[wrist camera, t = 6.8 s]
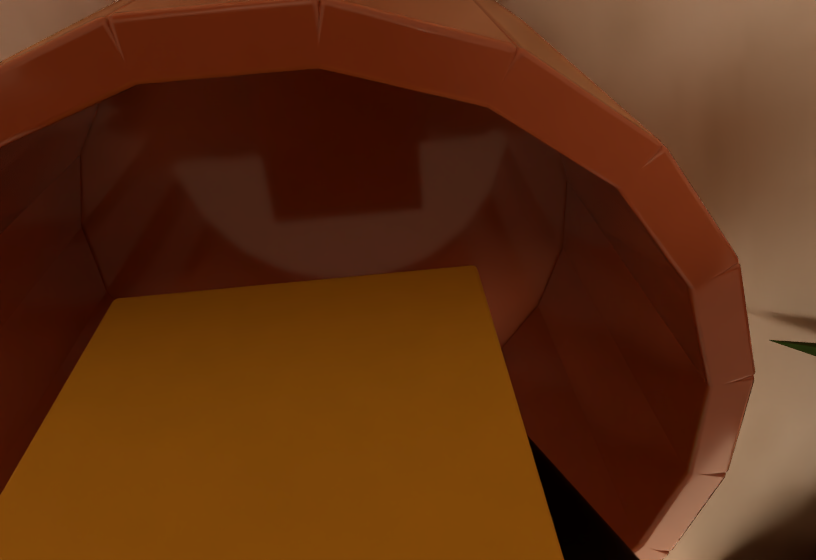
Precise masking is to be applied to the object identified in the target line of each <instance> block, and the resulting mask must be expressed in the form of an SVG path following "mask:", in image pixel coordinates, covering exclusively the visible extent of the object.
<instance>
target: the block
mask: <svg viewBox="0 0 816 560" xmlns="http://www.w3.org/2000/svg"><path fill="white" fill-rule="evenodd" d="M0 560H564V558H563V554H562V551H561V548H560V544H559V541H558V538H557V534H556V531H555V528H554V524H553V521H552V517H551V514H550V511H549V507H548V504H547V501H546V497H545V494H544V491H543V487H542V484H541V481H540V477H539V474H538V471H537V467H536V464H535V461H534V457H533V454H532V450H531V447H530V444H529V440H528V437H527V434H526V430H525V427H524V424H523V420H522V417H521V414H520V410H519V407H518V404H517V400H516V397H515V394H514V390H513V387H512V383H511V380H510V377H509V373H508V370H507V367H506V363H505V360H504V357H503V353H502V350H501V347H500V343H499V340H498V337H497V333H496V330H495V327H494V323H493V320H492V317H491V313H490V310H489V306H488V303H487V300H486V296H485V293H484V290H483V286H482V283H481V280H480V276H479V273H478V270H477V268H476V267H475V266H473V265H469V266H458V267H448V268H437V269H426V270H416V271H405V272H394V273H383V274H373V275H362V276H351V277H341V278H330V279H319V280H309V281H298V282H287V283H277V284H266V285H255V286H245V287H234V288H223V289H212V290H202V291H191V292H180V293H170V294H159V295H148V296H138V297H127V298H118V299H115V300H114V301H113V302H112V304H111V305H110V307H109V309H108V310H107V312H106V314H105V316H104V317H103V319H102V321H101V322H100V324H99V326H98V328H97V329H96V331H95V333H94V335H93V336H92V338H91V340H90V341H89V343H88V345H87V347H86V348H85V350H84V352H83V353H82V355H81V357H80V359H79V360H78V362H77V364H76V366H75V367H74V369H73V371H72V372H71V374H70V376H69V378H68V379H67V381H66V383H65V384H64V386H63V388H62V390H61V391H60V393H59V395H58V397H57V398H56V400H55V402H54V403H53V405H52V407H51V409H50V410H49V412H48V414H47V416H46V417H45V419H44V421H43V422H42V424H41V426H40V428H39V429H38V431H37V433H36V434H35V436H34V438H33V440H32V441H31V443H30V445H29V447H28V448H27V450H26V452H25V453H24V455H23V457H22V459H21V460H20V462H19V464H18V465H17V467H16V469H15V471H14V472H13V474H12V476H11V478H10V479H9V481H8V483H7V484H6V486H5V488H4V490H3V491H2V493H1V495H0Z"/></svg>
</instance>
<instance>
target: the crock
mask: <svg viewBox="0 0 816 560" xmlns="http://www.w3.org/2000/svg"><path fill="white" fill-rule="evenodd" d="M738 262H739V261H738V256H737V255H736V253H735V252H734V250H733V249H732V247H731V246H730V244H729V243H728V241H727V239H726V238H725V236H724V235H723V233H722V232H721V230H720V229H719V227H718V226H717V224H716V222H715V221H714V219H713V218H712V216H711V215H710V213H709V212H708V210H707V209H706V207H705V205H704V204H703V202H702V201H701V199H700V198H699V196H698V195H697V193H696V192H695V190H694V189H693V187H692V185H691V184H690V182H689V181H688V179H687V178H686V176H685V175H684V173H683V172H682V170H681V168H680V167H679V165H678V164H677V162H676V161H675V159H674V158H673V156H672V155H671V153H670V151H669V150H668V148H667V147H666V146H665V145H663V144H662V143H661V141H660V140H659V139H658V138H657V137H655V136H654V135H653V134H652V133H651V132H650V131H649V130H647V129H646V128H645V127H644V126H643V125H642V124H641V123H639V122H638V121H637V120H636V119H635V118H634V117H633V116H631V115H630V114H629V113H628V112H627V111H626V110H625V109H623V108H622V107H621V106H620V105H619V104H618V103H617V102H615V101H614V100H613V99H612V98H611V97H610V96H609V95H607V94H606V93H605V92H604V91H603V90H602V89H601V88H599V87H598V86H597V85H596V84H595V83H594V82H593V81H591V80H590V79H589V78H588V77H587V76H586V75H585V74H583V73H582V72H581V71H580V70H579V69H578V68H577V67H575V66H574V65H573V64H572V63H571V62H570V61H569V60H567V59H566V58H565V57H564V56H563V55H562V54H561V53H559V52H558V51H557V50H556V49H555V48H554V47H553V46H551V45H550V44H549V43H548V42H547V41H546V40H545V39H543V38H542V37H541V36H540V35H539V34H538V33H537V32H535V31H534V30H533V29H532V28H531V27H530V26H529V25H527V24H526V23H525V22H524V21H523V20H522V19H521V18H519V17H518V16H516V15H515V14H513V13H512V12H510V11H509V10H508V9H506V8H505V7H503V6H502V5H500V4H499V3H498V2H496V1H495V0H118V1H117V2H115V3H113V4H111V5H109V6H107V7H105V8H103V9H101V10H99V11H97V12H95V13H93V14H91V15H90V16H88V17H86V18H84V19H82V20H80V21H78V22H76V23H74V24H72V25H70V26H68V27H66V28H64V29H63V30H61V31H59V32H57V33H55V34H53V35H51V36H49V37H47V38H45V39H43V40H41V41H39V42H37V43H36V44H34V45H32V46H30V47H28V48H26V49H24V50H22V51H20V52H18V53H16V54H14V55H12V56H10V57H9V58H7V59H5V60H3V61H1V62H0V495H1V493H2V491H3V490H4V488H5V486H6V484H7V483H8V481H9V479H10V478H11V476H12V474H13V472H14V471H15V469H16V467H17V465H18V464H19V462H20V460H21V459H22V457H23V455H24V453H25V452H26V450H27V448H28V447H29V445H30V443H31V441H32V440H33V438H34V436H35V434H36V433H37V431H38V429H39V428H40V426H41V424H42V422H43V421H44V419H45V417H46V416H47V414H48V412H49V410H50V409H51V407H52V405H53V403H54V402H55V400H56V398H57V397H58V395H59V393H60V391H61V390H62V388H63V386H64V384H65V383H66V381H67V379H68V378H69V376H70V374H71V372H72V371H73V369H74V367H75V366H76V364H77V362H78V360H79V359H80V357H81V355H82V353H83V352H84V350H85V348H86V347H87V345H88V343H89V341H90V340H91V338H92V336H93V335H94V333H95V331H96V329H97V328H98V326H99V324H100V322H101V321H102V319H103V317H104V316H105V314H106V312H107V310H108V309H109V307H110V305H111V304H112V302H113V301H114V300H115V299H118V298H127V297H138V296H148V295H159V294H170V293H180V292H191V291H202V290H212V289H223V288H234V287H245V286H255V285H266V284H277V283H287V282H298V281H309V280H319V279H330V278H341V277H351V276H362V275H373V274H383V273H394V272H405V271H416V270H426V269H437V268H448V267H458V266H469V265H473V266H475V267H476V268H477V270H478V273H479V276H480V280H481V283H482V286H483V290H484V293H485V296H486V300H487V303H488V306H489V310H490V313H491V317H492V320H493V323H494V327H495V330H496V333H497V337H498V340H499V343H500V347H501V350H502V353H503V357H504V360H505V363H506V367H507V370H508V373H509V377H510V380H511V383H512V387H513V390H514V394H515V397H516V400H517V404H518V407H519V410H520V414H521V417H522V420H523V424H524V427H525V430H526V434H527V435H528V436H529V437H530V439H531V440H532V441H533V442H534V443H535V444H536V445H537V446H538V447H539V449H540V450H541V451H542V452H543V453H544V454H545V455H546V456H547V457H548V458H549V460H550V461H551V462H552V463H553V464H554V465H555V466H556V467H557V468H558V470H559V471H560V472H561V473H562V474H563V475H564V476H565V477H566V478H567V479H568V481H569V482H570V483H571V484H572V485H573V486H574V487H575V488H576V489H577V491H578V492H579V493H580V494H581V495H582V496H583V497H584V498H585V499H586V500H587V502H588V503H589V504H590V505H591V506H592V507H593V508H594V509H595V510H596V512H597V513H598V514H599V515H600V516H601V517H602V518H603V519H604V520H605V521H606V523H607V524H608V525H609V526H610V527H611V528H612V529H613V530H614V531H615V532H616V534H617V535H618V536H619V537H620V538H621V539H622V540H623V541H624V542H625V544H626V545H627V546H628V547H629V548H630V549H631V550H632V551H633V552H634V553H635V555H636V556H637V557H638V558H639V559H640V560H662V559H663V558H665V557H666V556H667V555H668V554H669V551H671V550H672V549H673V548H674V547H675V545H676V544H677V543H678V541H679V540H680V538H681V537H682V536H683V534H684V533H685V531H686V530H687V529H688V527H689V526H690V525H691V523H692V522H693V520H694V519H695V518H696V516H697V515H698V513H699V512H700V511H701V509H702V508H703V507H704V505H705V504H706V502H707V501H708V500H709V498H710V497H711V496H712V494H713V493H714V491H715V490H716V489H717V487H718V486H719V484H720V483H721V482H722V480H723V479H724V478H725V472H727V471H728V470H729V466H730V463H731V459H732V456H733V452H734V449H735V445H736V442H737V438H738V435H739V431H740V428H741V424H742V421H743V417H744V414H745V410H746V407H747V403H748V400H749V396H750V393H751V389H752V386H753V382H754V376H753V375H754V374H755V367H754V360H753V352H752V345H751V338H750V331H749V324H748V317H747V310H746V302H745V295H744V288H743V281H742V274H741V267H740V264H739V263H738Z"/></svg>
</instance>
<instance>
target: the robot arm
mask: <svg viewBox="0 0 816 560" xmlns="http://www.w3.org/2000/svg"><path fill="white" fill-rule="evenodd" d="M527 437H528V440H529V444H530V447H531V450H532V454H533V457H534V461H535V464H536V467H537V471H538V474H539V477H540V481H541V484H542V487H543V491H544V494H545V497H546V501H547V504H548V507H549V511H550V514H551V517H552V521H553V524H554V528H555V531H556V534H557V538H558V541H559V544H560V548H561V551H562V554H563V558H564V560H640V559H639V558H638V557H637V556H636V555H635V553H634V552H633V551H632V550H631V549H630V548H629V547H628V546H627V545H626V544H625V542H624V541H623V540H622V539H621V538H620V537H619V536H618V535H617V534H616V532H615V531H614V530H613V529H612V528H611V527H610V526H609V525H608V524H607V523H606V521H605V520H604V519H603V518H602V517H601V516H600V515H599V514H598V513H597V512H596V510H595V509H594V508H593V507H592V506H591V505H590V504H589V503H588V502H587V500H586V499H585V498H584V497H583V496H582V495H581V494H580V493H579V492H578V491H577V489H576V488H575V487H574V486H573V485H572V484H571V483H570V482H569V481H568V479H567V478H566V477H565V476H564V475H563V474H562V473H561V472H560V471H559V470H558V468H557V467H556V466H555V465H554V464H553V463H552V462H551V461H550V460H549V458H548V457H547V456H546V455H545V454H544V453H543V452H542V451H541V450H540V449H539V447H538V446H537V445H536V444H535V443H534V442H533V441H532V440H531V439H530V437H529V436H528V435H527Z"/></svg>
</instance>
